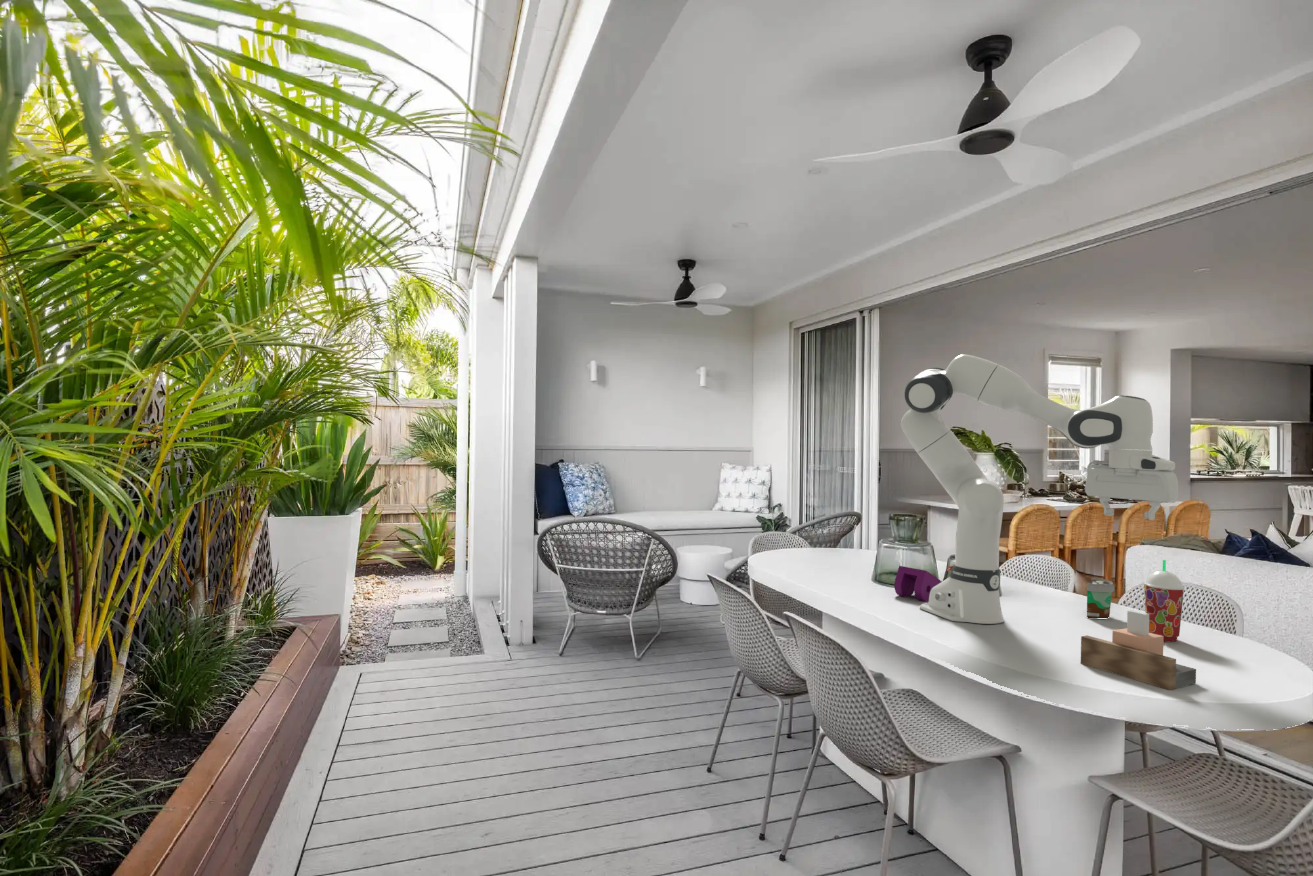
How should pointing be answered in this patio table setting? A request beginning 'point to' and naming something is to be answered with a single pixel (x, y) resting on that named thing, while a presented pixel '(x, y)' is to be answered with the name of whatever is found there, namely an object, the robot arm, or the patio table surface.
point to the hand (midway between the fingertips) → (1128, 517)
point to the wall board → (1135, 663)
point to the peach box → (1138, 634)
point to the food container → (1099, 598)
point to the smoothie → (1164, 603)
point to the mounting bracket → (914, 583)
